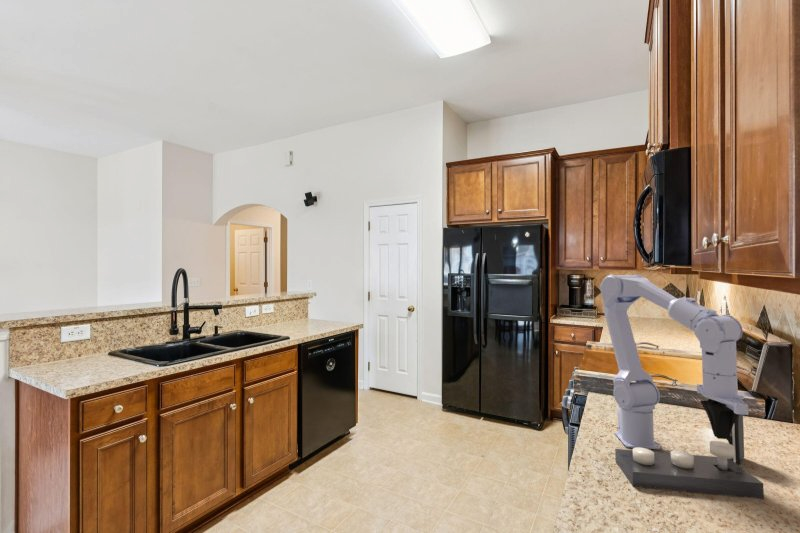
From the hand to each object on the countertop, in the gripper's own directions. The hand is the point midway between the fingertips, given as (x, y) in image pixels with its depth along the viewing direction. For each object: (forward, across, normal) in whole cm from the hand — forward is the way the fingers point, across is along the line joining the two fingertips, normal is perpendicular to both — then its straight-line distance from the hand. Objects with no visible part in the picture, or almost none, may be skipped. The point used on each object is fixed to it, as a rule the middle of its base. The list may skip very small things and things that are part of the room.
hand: (721, 437), depth 82 cm
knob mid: (+9, 0, +7) cm, 12 cm away
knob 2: (+6, 0, 0) cm, 6 cm away
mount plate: (+9, 0, +8) cm, 12 cm away
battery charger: (+10, +12, -8) cm, 17 cm away
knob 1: (+9, 0, +15) cm, 17 cm away
